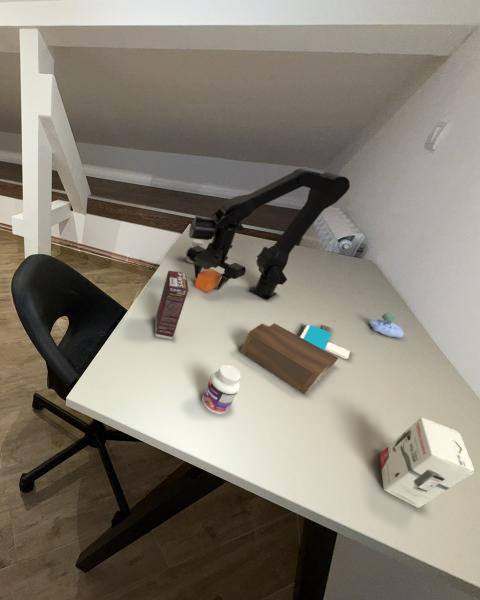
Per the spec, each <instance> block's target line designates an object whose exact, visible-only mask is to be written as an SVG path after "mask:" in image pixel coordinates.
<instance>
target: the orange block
mask: <svg viewBox="0 0 480 600" xmlns="http://www.w3.org/2000/svg"><path fill="white" fill-rule="evenodd" d="M221 274H222V273H221V272H219V271H217V270H215V269H213V268H210V269H205V270H204V271H201V272H200V273H199V274H198V277H197V278H196V280H195V282H194V287H195V288H198V289H199V290H201V291H203V292H205V293H206V292H209V291H211V290H213V289H215V288H217V287H218V284H219V282H220V280H221V278H222V276H221Z"/></svg>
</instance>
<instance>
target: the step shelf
mask: <svg viewBox="0 0 480 600" xmlns="http://www.w3.org/2000/svg"><path fill="white" fill-rule="evenodd" d="M297 335H298V334H296V333H294V332H291V331H290V330H289V329H288V330H287V329H286V328H284V327H282V326H280V324H279V325H278V323H272V324H270V325H269V326H267V325H266V324H264V323H260V324H259V325H258V326H256V327H254V328H252V329H250V330H249V332H248V335H247V336H246V338H245V340H244V342H243V344H242V347H241V349H240V350H239V353H240V354H242V355H243V356H245V357H247V358H248V359H250V360H252V361H253V362H254V363H256V364H257V365H259V366H261V367H262V368H264V369H265V370H267V372H270V374H273V375H274V376H276V377H277V378H279V379H280V380H282V381H284V382H285V383H287V384H288V385H290V386H291V387H293V388H294V389H295V390H297V391H299V392H300V393H302V394H304V395H306V394H307V393H308V392H309V391H310V390H311V389H312V388H313V387H314V386H315V385H316V384H317V383H318V382H319V381H320V380H321V379H322V378H323V377H324V376H325V375H326V374H327V372H329V371H330V370H331V368H333V366H334V365H335V363H336V362H337V361H338V360H339V357H338V356H337V355H335V354H333V353H331V352H329V351H327V350H323V349H321V348H319V347H317V346H315V345H314V344H312V343H310V342H308V341H306V340H304V339H303V338H301V337H299V336H297Z"/></svg>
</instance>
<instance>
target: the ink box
mask: <svg viewBox="0 0 480 600" xmlns="http://www.w3.org/2000/svg"><path fill="white" fill-rule="evenodd" d="M379 463H380V470H381V478H382V485H383V486H382V487H383V491H385V492H387V493H388V494H390V495H392V496H394V497H396V498H397V499H400V500H402V501H403V502H406V503H407V504H409V505H410V506H411V505H412V506H413V507H415V508H418V509H419V508H422V507H423V506H424V505H425V504H427V503H429V502H430V501H432V500H433V499H435V498H436V497H438V496H440V495H442V493H444V492H446V491H447V490H449V489H451V488H453V487H454V486H455V485H457V484H459V483H461V482H462V481H463V480H465V479H466V478H468V477H470V476H471V475H473V474H474V471H475V468H474V466H473V463H472V460H471V458H470V456H469V452H468V450H467V448H466V445H465V442H464V439H463V437H462V434H461V433H460V432H458V431H457V430H455V429H453V428H451V427H448V426H446V425H443V424H440V423H438V422H436V421H433V420H430V419H428V418H425V417H422V416H421V417H419V419H417V420H416V421H415V422H414V423H413V424H411V425H410V427H408V428H407V429H406V430H405V431H404V432H403V433H401V434H400V435H399V436H398V437H396V439H394V440H393V441H392V442H391V443H390V444H388V446H386V447H385V448H384V449H383V450H382V451H380V452H379Z"/></svg>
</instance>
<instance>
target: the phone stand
mask: <svg viewBox="0 0 480 600" xmlns="http://www.w3.org/2000/svg"><path fill="white" fill-rule="evenodd" d="M330 329H331V327H329V326H327V325H323V326H322V328H321V327H318V326H315V325H313V324H311V325H309V324H303V325H302V326H301V329H300V330H299V331H298V333H297V334H296V335H297V336H299V337H301V338H303V339H304V340H306V341H308V342H310V343H312V344H314V345H315V346H317V347H319V348H321V349H323V350H325V351H326V352H328V353H330V354H332V355H334V356H337V357H340V358H342V359H344V360H348V359H349V357H350V354H351V350H348V349H347V348H344V347H342V346H339V345H337V344H335V343H332V342H330V338H331V336H332V333H331V332H329V331H330Z"/></svg>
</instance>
